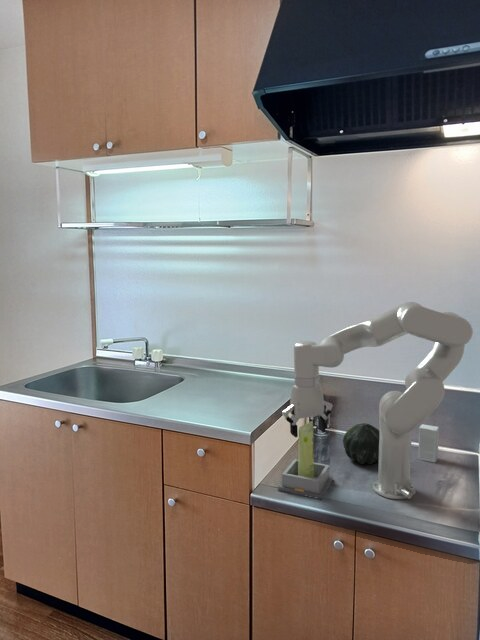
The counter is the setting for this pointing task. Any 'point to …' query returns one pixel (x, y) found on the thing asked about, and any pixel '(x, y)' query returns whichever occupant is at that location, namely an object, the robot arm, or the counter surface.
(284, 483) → the socket
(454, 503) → the counter surface
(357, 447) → the squash
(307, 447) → the tube
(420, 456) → the skincare box
